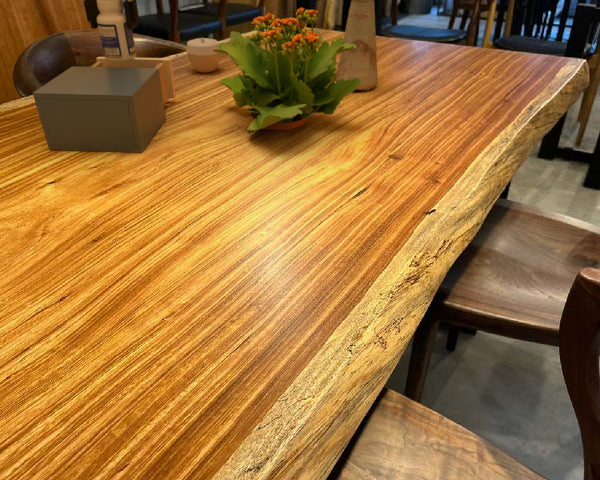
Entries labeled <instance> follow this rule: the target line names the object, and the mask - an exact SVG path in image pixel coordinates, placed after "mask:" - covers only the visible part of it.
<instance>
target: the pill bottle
mask: <svg viewBox="0 0 600 480" xmlns="http://www.w3.org/2000/svg"><path fill="white" fill-rule="evenodd" d="M123 3H124V1H123V0H97V6H98V9H99V11H100V14H99V15H98V16H97V25H98V27H97V29H98V33H99V38H100V43H101V48H102V53H103V57H105V59H106V60H108V61H113V62H121V61H129V60H132V59H134V58H137V51H136V50H137V49H136V43H135V39H134V33H133V29H129V28H128V27H127V22H126V16H125V11H124V5H123Z"/></svg>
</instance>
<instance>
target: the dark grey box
mask: <svg viewBox="0 0 600 480" xmlns="http://www.w3.org/2000/svg"><path fill="white" fill-rule="evenodd" d="M32 96H33V98H34V102H35V107H36V110H37V113H38V117H39V120H40V124H41V127H42V131H43V133H44V138H45V141H46V144H47V147H48V150H49V151H73V152H75V151H76V152H103V153H105V152H106V153H139V154H140V153H141V154H142V153H143V152H144V151H145V149H147V147H148V145H149V144H150V143H151V142H152V140H153V138H154V137H155V136H156V135H157V133H158V132H159V130H160V129H161V128H162V127H163V125H164V123H165V122H166V121H167V118H166V117H167V116H166V111H165V110H166V109H165V104H164V103H163V96H162V89H161V82H160V75H159V69H158V68H123V67H91V66H79V65H78V66H76V65H75V66H74V65H72V66H70V67H69V68H68V69H66V70H64V71H63V72H62V73H60V74H58V75H57V76H56V77H54V78H53V79H51V80H50V81H48V82H47V83H45V84H44V85H42V86H40V87H39V88H38V89H36V90H34V91H33V92H32Z"/></svg>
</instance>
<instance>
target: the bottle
mask: <svg viewBox="0 0 600 480" xmlns="http://www.w3.org/2000/svg"><path fill="white" fill-rule="evenodd" d="M375 12H376V11H375V0H351V1H350V6H349V9H348V15H347V20H346V26H345V30H344V35H343V39H344V44H345V43H346V42H348V41H349V43H350V44H355V45H356V46H357V47H356V48H355V49H350V50H346V51H343V52H341V53H339V59H338V62H337V67H336V71H335V73H337V75H336V81H335V83H336V82H337V81H340V80H342V79H343V80H344V81H346V80H348V79H351V80H352V79H355V78H357V80H358V79H362V82H361V84H360V85H359V86H358V88H356V89H355V90H354V91H370V90H373V89H375V88H376V86H377V84H378V81H379V76H378V75H379V74H378V56H377V50H378V49H377V48H378V47H377V37H376V36H377V34H376V13H375Z"/></svg>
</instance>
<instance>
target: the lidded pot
mask: <svg viewBox="0 0 600 480" xmlns="http://www.w3.org/2000/svg"><path fill="white" fill-rule="evenodd" d="M219 44H220V42H219V41H218V40H217V39H214V38H207V37H202V38H201V37H199V38H198V37H197V38H194V39H190V40H188V41H187V42H186V48H185V49H186V50H185V51H186V54H187V57H188V61H189V62H190V64H191V67H192V68H193V69H194V70H195V71H196V72H197V73H204V74H205V73H211V72H214V71H215V70H216V69H217V67H218V65H219V64H220V61H221V60H220V59H221V54H222V53H219V52H214V51H213V50H214V49H220V48H219V47H218V45H219Z"/></svg>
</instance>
